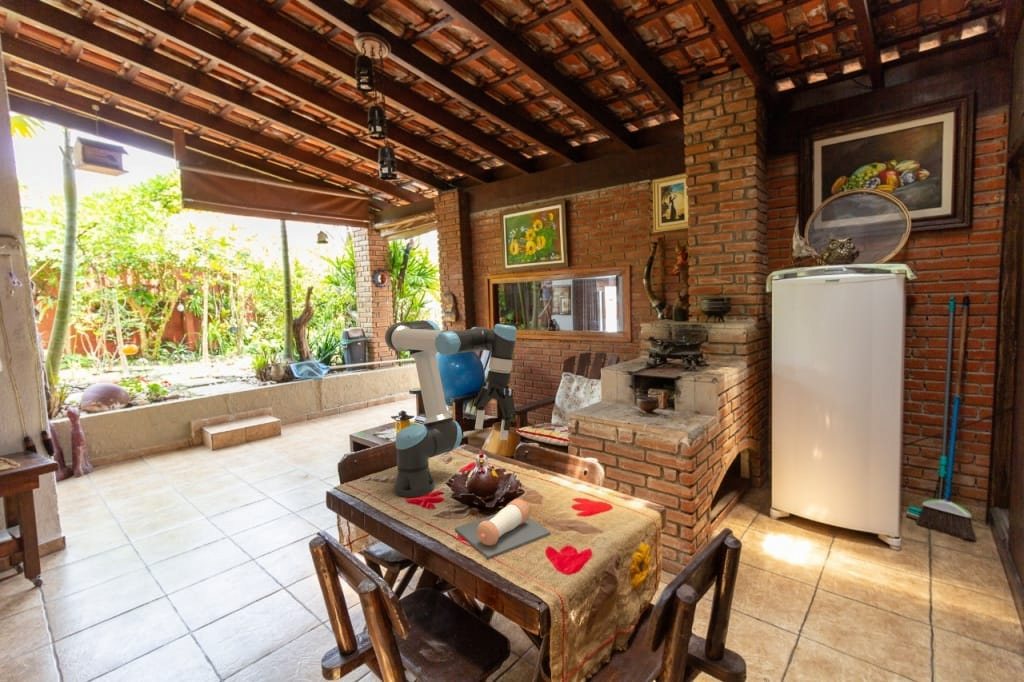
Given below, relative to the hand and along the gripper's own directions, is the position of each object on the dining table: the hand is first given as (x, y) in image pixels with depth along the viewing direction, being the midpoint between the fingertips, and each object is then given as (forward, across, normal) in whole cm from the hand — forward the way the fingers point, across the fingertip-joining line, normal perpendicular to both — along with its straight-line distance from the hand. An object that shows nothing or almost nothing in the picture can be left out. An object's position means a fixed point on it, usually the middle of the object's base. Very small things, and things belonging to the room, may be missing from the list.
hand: (490, 434), depth 153 cm
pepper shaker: (+20, -14, -5) cm, 25 cm away
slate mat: (+26, -15, +2) cm, 30 cm away
